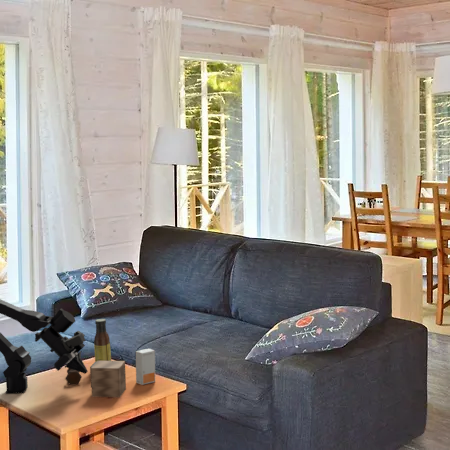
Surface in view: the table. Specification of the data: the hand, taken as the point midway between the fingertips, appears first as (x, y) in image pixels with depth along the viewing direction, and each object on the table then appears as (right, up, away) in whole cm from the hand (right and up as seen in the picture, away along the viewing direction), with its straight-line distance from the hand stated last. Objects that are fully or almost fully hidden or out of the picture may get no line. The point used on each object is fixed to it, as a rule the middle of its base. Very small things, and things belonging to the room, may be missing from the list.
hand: (86, 372), depth 260 cm
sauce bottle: (+1, -5, +28) cm, 29 cm away
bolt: (-8, -6, +17) cm, 20 cm away
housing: (+8, -7, 0) cm, 11 cm away
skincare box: (+20, -6, +11) cm, 24 cm away
